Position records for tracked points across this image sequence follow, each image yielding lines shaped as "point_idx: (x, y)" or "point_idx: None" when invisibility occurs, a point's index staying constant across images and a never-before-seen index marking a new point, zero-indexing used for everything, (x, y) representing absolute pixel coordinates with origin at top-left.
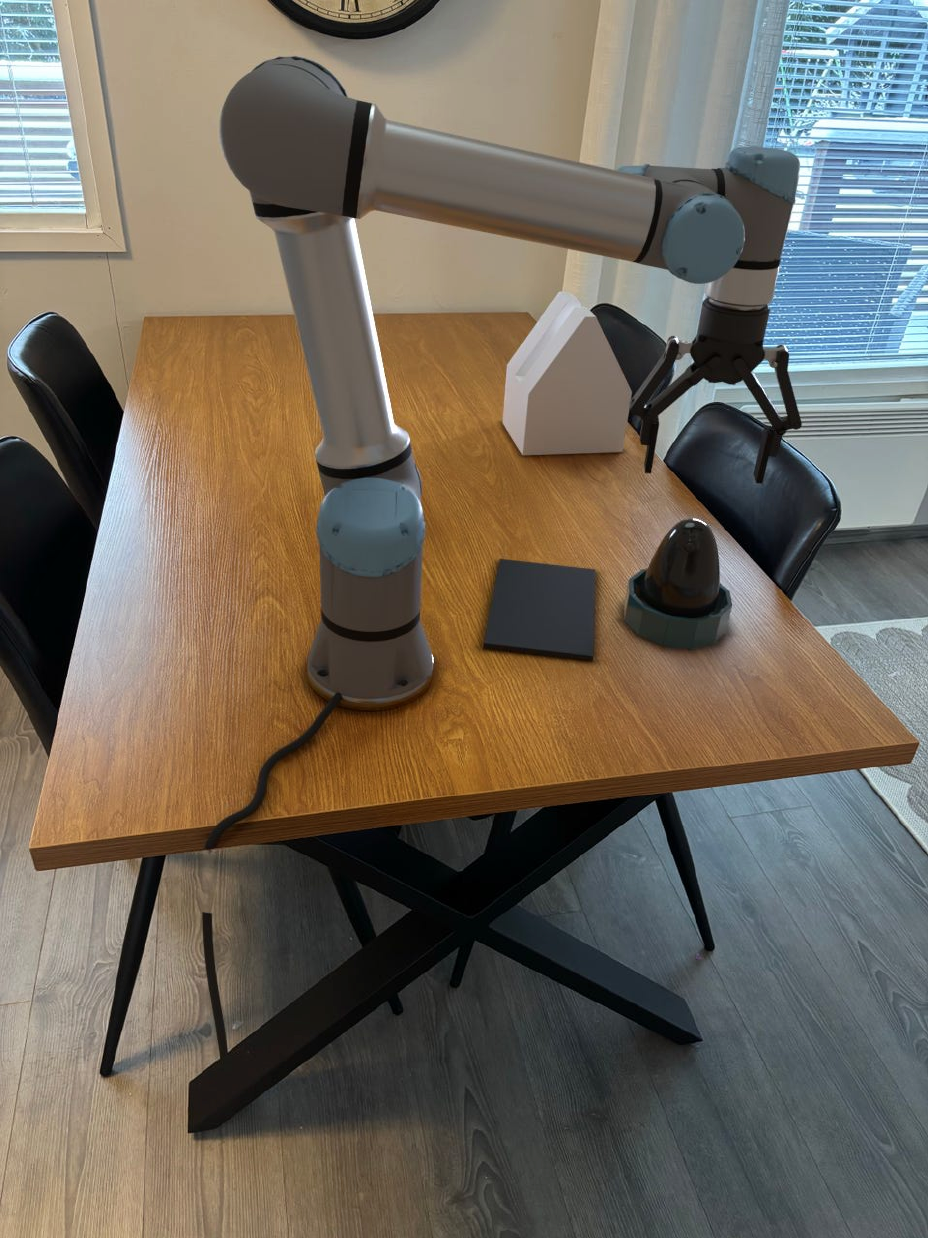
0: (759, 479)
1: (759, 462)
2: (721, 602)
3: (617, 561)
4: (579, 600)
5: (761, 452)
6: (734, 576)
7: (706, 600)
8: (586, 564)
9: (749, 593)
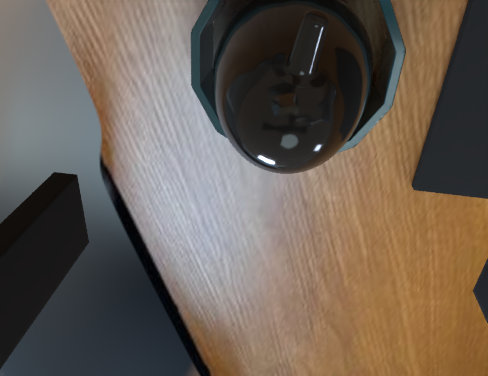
0: (59, 182)
1: (41, 241)
2: (207, 78)
3: (360, 223)
4: (476, 85)
5: (16, 278)
6: (173, 194)
7: (249, 5)
8: (417, 212)
9: (153, 149)
